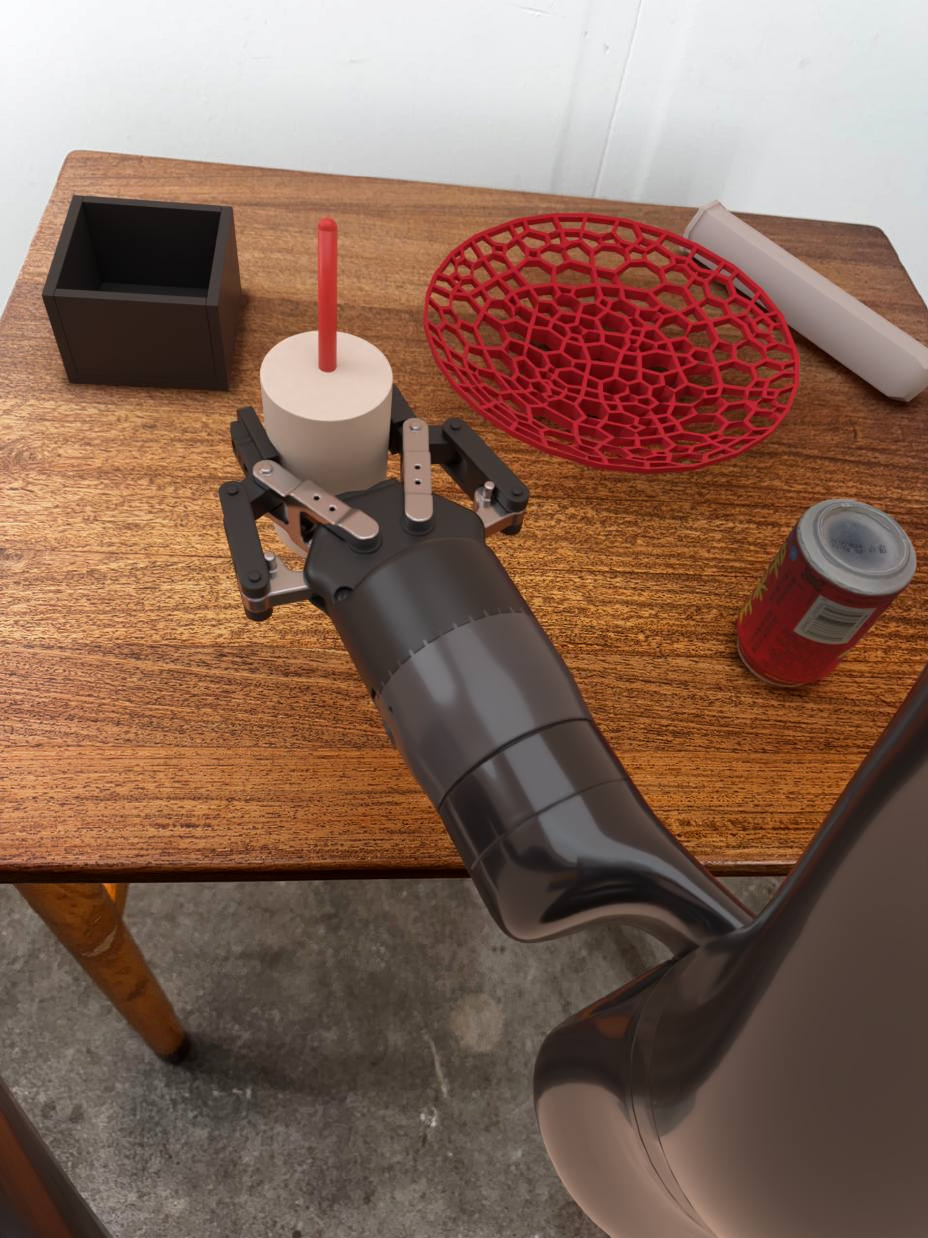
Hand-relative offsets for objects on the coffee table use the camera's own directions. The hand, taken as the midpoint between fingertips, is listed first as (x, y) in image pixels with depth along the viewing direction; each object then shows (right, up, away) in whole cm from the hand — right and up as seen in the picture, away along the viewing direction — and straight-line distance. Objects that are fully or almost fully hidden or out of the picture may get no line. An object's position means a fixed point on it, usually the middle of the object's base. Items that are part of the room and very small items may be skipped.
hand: (307, 404), depth 45 cm
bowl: (+19, +9, +30) cm, 37 cm away
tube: (+37, +16, +37) cm, 55 cm away
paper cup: (+1, -5, +4) cm, 6 cm away
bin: (-16, +12, +27) cm, 34 cm away
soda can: (+29, -13, +17) cm, 36 cm away
